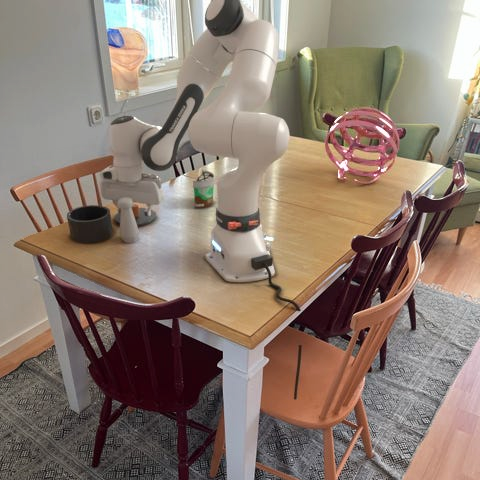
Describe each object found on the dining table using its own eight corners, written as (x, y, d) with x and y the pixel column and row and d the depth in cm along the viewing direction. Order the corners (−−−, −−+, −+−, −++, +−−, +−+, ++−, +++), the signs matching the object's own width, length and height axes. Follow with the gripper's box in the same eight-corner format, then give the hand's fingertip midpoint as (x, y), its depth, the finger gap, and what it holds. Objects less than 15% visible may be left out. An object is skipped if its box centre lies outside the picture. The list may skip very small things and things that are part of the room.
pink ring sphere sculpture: (374, 145, 161) (398, 86, 169) (303, 151, 178) (327, 96, 186) (395, 198, 182) (415, 143, 190) (330, 199, 199) (351, 148, 207)
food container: (211, 211, 164) (210, 183, 158) (194, 210, 165) (192, 181, 159) (219, 198, 174) (219, 171, 168) (203, 197, 175) (202, 169, 169)
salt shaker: (130, 245, 142) (125, 204, 135) (116, 241, 145) (110, 200, 137) (143, 238, 146) (139, 197, 139) (129, 234, 149) (124, 194, 141)
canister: (114, 240, 145) (111, 219, 141) (71, 245, 142) (66, 223, 138) (111, 224, 155) (108, 203, 151) (71, 228, 152) (67, 207, 148)
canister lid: (159, 225, 154) (158, 211, 152) (116, 230, 151) (113, 216, 149) (154, 209, 165) (152, 196, 162) (113, 213, 162) (111, 200, 159)
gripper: (164, 172, 149) (167, 213, 157) (104, 166, 153) (110, 207, 161) (156, 178, 144) (160, 221, 152) (95, 172, 148) (102, 214, 156)
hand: (134, 214), depth 157 cm, fingers open, 8 cm apart
